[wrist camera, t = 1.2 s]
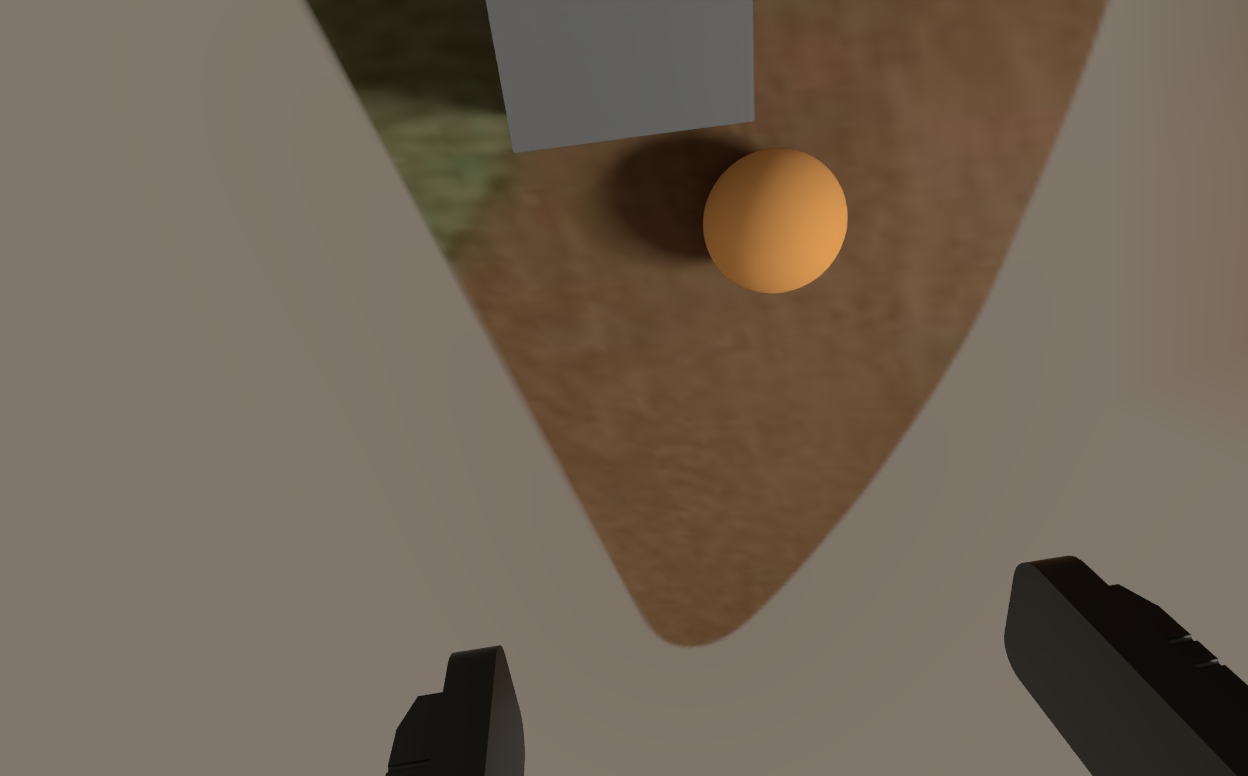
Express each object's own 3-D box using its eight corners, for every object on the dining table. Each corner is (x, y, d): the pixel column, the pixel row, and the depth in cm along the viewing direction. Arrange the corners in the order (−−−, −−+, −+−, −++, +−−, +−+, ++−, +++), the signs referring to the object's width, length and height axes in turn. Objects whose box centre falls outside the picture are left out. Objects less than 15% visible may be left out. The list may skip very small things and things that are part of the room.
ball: (664, 208, 26) (687, 249, 22) (762, 106, 25) (807, 129, 21) (749, 289, 28) (785, 342, 24) (843, 199, 27) (900, 238, 23)
